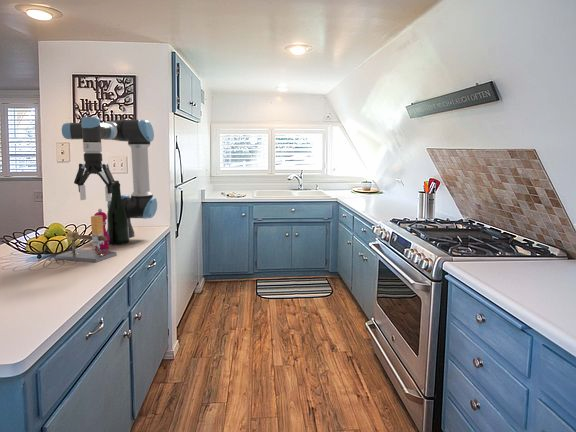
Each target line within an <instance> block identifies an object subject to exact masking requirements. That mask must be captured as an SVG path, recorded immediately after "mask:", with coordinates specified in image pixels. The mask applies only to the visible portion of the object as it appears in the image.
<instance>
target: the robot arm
mask: <svg viewBox="0 0 576 432" xmlns="http://www.w3.org/2000/svg"><path fill="white" fill-rule="evenodd" d="M61 134H62V137H63V138H64V139H66V140H82V150H83V152H84V153H83V161H84V162H82V163H79V164H78V169H77V172H76V175H75V177H74V182H73V184H75V185H77V187H78V192H79V197H80V199H79V200H80V201H85V200H87V195H86V185H85V183H86V181H87V179H88V178H89V177H90V175H92V174H93V175H98V177H99V178H100V179H101V180H102V181H103V183H104V184H105V186H104V191H105V194H104V195H105V202H107V209H108V208H109V205H110V202H111V197H112V185H115V184H116V183H115V181H116V180H115V179H114V177H113V174H112V172H111V170H110V166H109V164H108V163H102V161H103V153H102V152H103V150H102V149H103V147H102V146H103V145H102V140H108V141H116V142H127V145H128V146H129V147H130V149H131V152H130V153H131V168H132V169H131V170H132V184H133V186H132V188H133V192H132V193H131V194H130V195H129V194H123V195H122V194H121V198H122V201H123V203H124V206H125V208H126V210H127V216H128V227H129V238H132V237H134V236H135V230H134V228H133V225H132V222H131V219H144V220H146V219H152V218H154V216H155V215H156V212H157V210H158V201H157V198H156V197H154V194H153V193H152V192H151V191H150V189H151V188H150V169H149V167H150V166H149V149H148V148H149V147H150V146H151V143H152V142H153V141H154V138H155V130H154V127H153V125H152V124H151V122H150V121H149V120H146V119H117V120H111V121H104V122H101V119H100V118H99V117H98V116H97V117H96V116H83V117H82V118H81V122H65V123H63V124H62V126H61ZM106 232H107V234H108V227H107V228H106Z"/></svg>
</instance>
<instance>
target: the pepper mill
mask: <svg viewBox="0 0 576 432" xmlns="http://www.w3.org/2000/svg"><path fill="white" fill-rule="evenodd" d="M97 211H98V212H95V214H94V215H93V216H96V215H100V216H102V217H103V233H104V237H107V240H105V241H104V244H100V251H105V250H108V249H110V244H109V243H108V242H109V241H110V239H109V235H108V234H107V228H106V225H107V213H105V211H104V212H103V210H102V208H98V210H97ZM94 247H95V250H97V251H98V249H97V246H94Z"/></svg>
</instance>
